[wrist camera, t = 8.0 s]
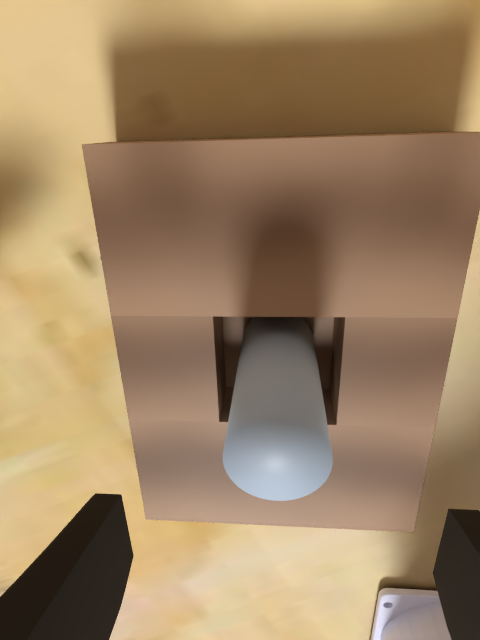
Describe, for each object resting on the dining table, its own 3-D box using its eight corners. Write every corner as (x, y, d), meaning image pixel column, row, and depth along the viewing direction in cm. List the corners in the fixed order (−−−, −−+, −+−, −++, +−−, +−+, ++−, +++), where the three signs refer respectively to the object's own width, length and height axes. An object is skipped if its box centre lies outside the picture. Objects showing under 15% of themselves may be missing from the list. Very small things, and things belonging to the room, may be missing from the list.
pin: (313, 370, 18) (332, 501, 12) (245, 372, 19) (228, 500, 12) (313, 307, 17) (333, 416, 11) (240, 310, 17) (217, 417, 11)
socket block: (395, 480, 21) (413, 532, 18) (162, 471, 22) (145, 519, 19) (453, 131, 14) (495, 132, 12) (116, 141, 15) (82, 144, 13)
